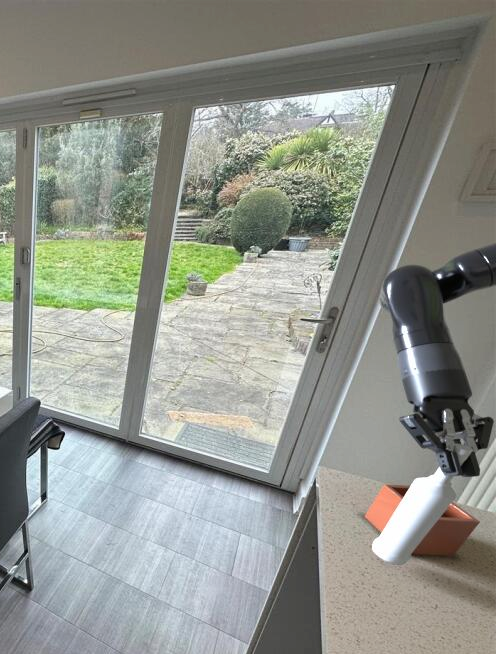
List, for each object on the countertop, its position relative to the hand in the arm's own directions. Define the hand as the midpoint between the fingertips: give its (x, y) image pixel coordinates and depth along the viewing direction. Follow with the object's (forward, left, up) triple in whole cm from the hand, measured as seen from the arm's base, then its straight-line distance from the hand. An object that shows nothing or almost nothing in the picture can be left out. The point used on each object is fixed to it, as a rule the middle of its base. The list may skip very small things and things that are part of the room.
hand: (462, 475), depth 66 cm
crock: (-10, -9, -23) cm, 26 cm away
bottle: (0, -2, -21) cm, 21 cm away
